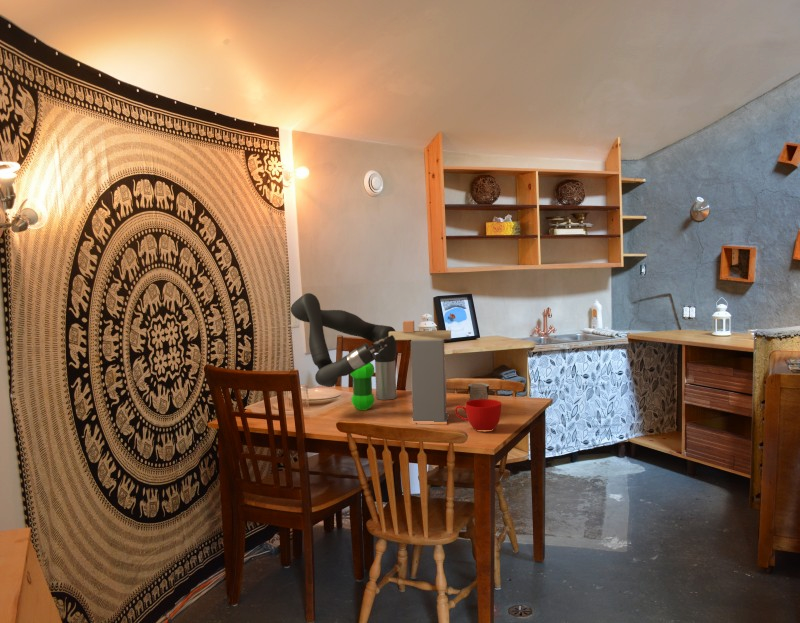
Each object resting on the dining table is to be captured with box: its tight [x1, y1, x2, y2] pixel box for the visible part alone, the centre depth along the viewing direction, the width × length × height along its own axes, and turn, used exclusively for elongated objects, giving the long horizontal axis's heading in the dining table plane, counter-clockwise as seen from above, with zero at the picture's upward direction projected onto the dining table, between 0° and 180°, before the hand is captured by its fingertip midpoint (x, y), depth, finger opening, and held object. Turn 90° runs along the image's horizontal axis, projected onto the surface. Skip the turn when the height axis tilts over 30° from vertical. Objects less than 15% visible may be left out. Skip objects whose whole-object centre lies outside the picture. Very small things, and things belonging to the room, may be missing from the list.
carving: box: [468, 384, 489, 401], centre depth 251 cm, size 6×8×12 cm
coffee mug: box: [467, 382, 490, 396], centre depth 262 cm, size 12×9×10 cm
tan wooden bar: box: [389, 329, 452, 341], centre depth 243 cm, size 4×24×3 cm, turn 83°
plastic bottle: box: [349, 362, 375, 411], centre depth 266 cm, size 10×10×25 cm
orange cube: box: [402, 320, 416, 332], centre depth 244 cm, size 4×4×4 cm
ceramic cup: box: [454, 398, 502, 430], centre depth 229 cm, size 13×17×10 cm
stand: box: [410, 339, 450, 423], centre depth 244 cm, size 14×14×32 cm
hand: (395, 335), depth 245 cm, fingers open, 8 cm apart
